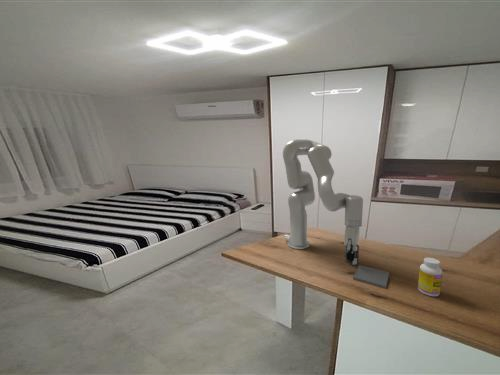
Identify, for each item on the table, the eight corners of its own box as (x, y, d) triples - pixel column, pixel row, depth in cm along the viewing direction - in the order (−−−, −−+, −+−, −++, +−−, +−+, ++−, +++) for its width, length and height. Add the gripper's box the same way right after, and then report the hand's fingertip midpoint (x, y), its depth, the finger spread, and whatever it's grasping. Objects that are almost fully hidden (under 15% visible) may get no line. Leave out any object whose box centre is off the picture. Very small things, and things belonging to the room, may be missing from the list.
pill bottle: (359, 265, 108) (360, 242, 106) (346, 264, 109) (347, 242, 107) (356, 259, 113) (357, 237, 111) (343, 258, 115) (344, 237, 113)
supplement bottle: (432, 299, 83) (436, 266, 81) (413, 289, 89) (416, 258, 87) (443, 294, 85) (447, 262, 83) (424, 284, 91) (427, 254, 89)
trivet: (353, 279, 97) (353, 277, 97) (359, 266, 106) (359, 264, 106) (385, 288, 90) (385, 286, 90) (389, 274, 99) (389, 272, 99)
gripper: (349, 215, 117) (347, 248, 120) (339, 225, 103) (338, 262, 106) (365, 218, 112) (363, 252, 115) (357, 228, 99) (356, 267, 102)
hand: (351, 257), depth 111 cm, fingers closed on pill bottle, 6 cm apart
